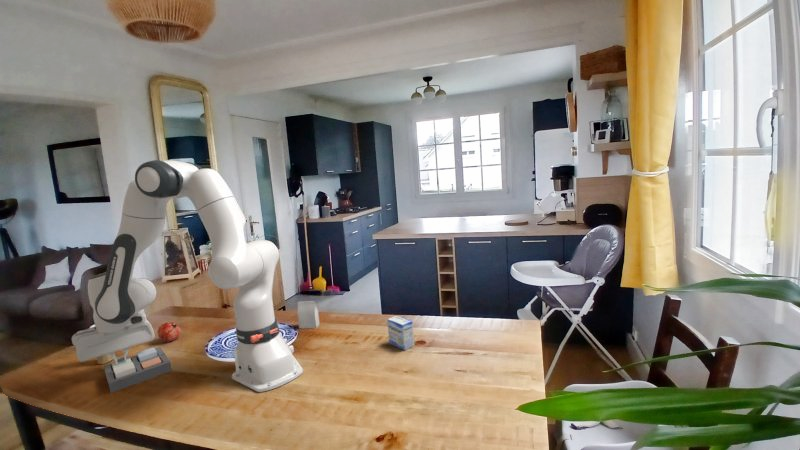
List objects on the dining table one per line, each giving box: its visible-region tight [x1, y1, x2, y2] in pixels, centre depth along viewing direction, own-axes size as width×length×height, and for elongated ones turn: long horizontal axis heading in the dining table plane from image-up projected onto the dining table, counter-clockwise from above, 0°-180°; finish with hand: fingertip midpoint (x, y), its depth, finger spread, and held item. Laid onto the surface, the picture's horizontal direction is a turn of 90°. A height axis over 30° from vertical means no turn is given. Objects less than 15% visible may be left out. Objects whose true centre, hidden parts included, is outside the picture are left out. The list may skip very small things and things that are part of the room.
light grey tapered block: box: [297, 300, 320, 330], centre depth 149 cm, size 4×7×10 cm, turn 82°
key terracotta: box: [141, 357, 162, 370], centre depth 124 cm, size 5×5×2 cm
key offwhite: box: [113, 362, 136, 379], centre depth 120 cm, size 5×5×2 cm
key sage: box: [111, 357, 132, 371], centre depth 125 cm, size 5×5×2 cm
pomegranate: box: [157, 321, 181, 343], centre depth 148 cm, size 7×7×10 cm
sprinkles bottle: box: [89, 324, 114, 365], centre depth 134 cm, size 5×5×13 cm
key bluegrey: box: [136, 347, 158, 362], centre depth 129 cm, size 5×5×2 cm
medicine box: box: [386, 315, 415, 351], centre depth 127 cm, size 8×4×9 cm, turn 42°
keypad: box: [103, 347, 173, 394], centre depth 125 cm, size 16×16×3 cm
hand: (121, 362), depth 125 cm, fingers closed
